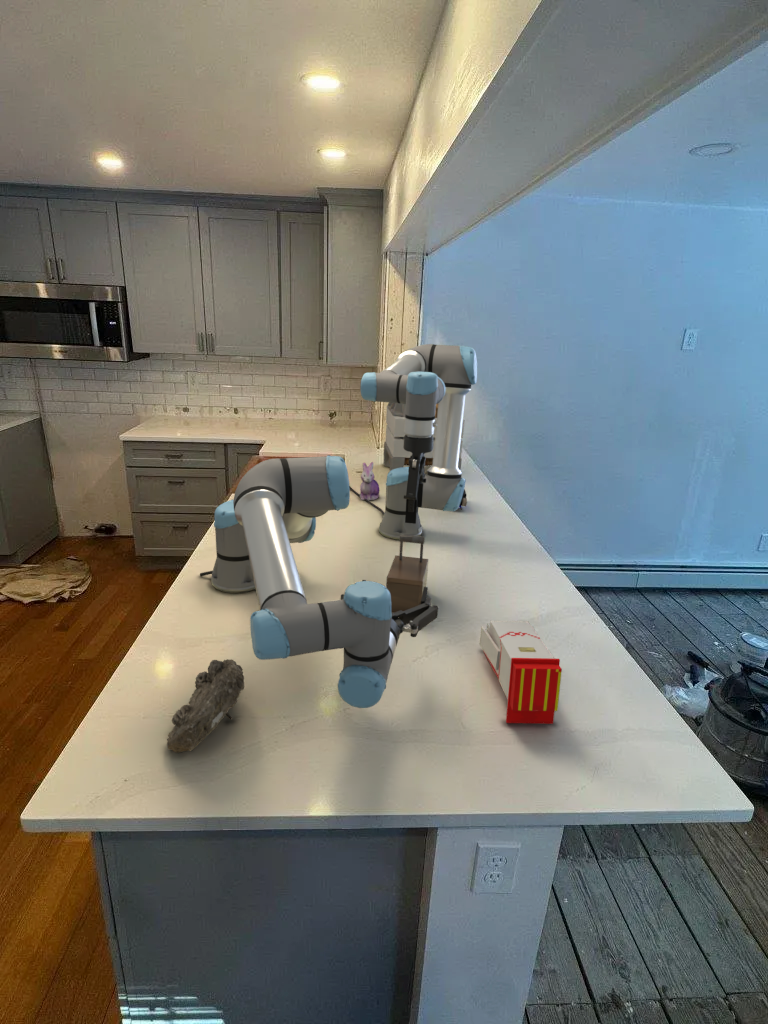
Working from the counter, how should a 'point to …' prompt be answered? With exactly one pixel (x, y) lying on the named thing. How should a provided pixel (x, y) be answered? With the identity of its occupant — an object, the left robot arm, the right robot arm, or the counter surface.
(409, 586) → the chest
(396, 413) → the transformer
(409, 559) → the lid
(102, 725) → the counter surface
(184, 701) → the counter surface
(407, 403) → the right robot arm
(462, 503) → the figurine character
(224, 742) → the counter surface
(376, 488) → the figurine
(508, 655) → the toy
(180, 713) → the fossil
